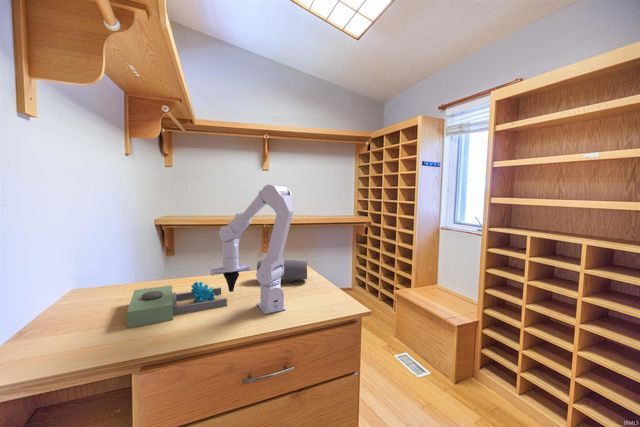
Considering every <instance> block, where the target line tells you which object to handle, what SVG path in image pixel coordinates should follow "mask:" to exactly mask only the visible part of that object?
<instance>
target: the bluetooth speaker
mask: <svg viewBox="0 0 640 427" xmlns="http://www.w3.org/2000/svg"><path fill="white" fill-rule="evenodd" d="M283 260H284V274H283V276H282V277H281V283H294V282H295V281H301V280H302V281H303V280H308V261H306V260H296V259H295V260H293V259H292V260H289V259H283ZM262 261H263V260H259V261H257V263H256V271H257V270H258V269H259V268H260V266H261V263H262Z"/></svg>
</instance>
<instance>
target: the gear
mask: <svg viewBox="0 0 640 427" xmlns="http://www.w3.org/2000/svg"><path fill="white" fill-rule="evenodd" d="M190 287H191V288H192V289H191V290H190V292H193V293H195V294H194V297H195V299H192V300H193V303H197V302H198V303H199V302H205V301H211V300H216V298H215V296H216V295H215V294H214V293H211V292H212V291H213V290H212V289H213V288H214V287H213V286H210V287H209V284H208V283H205V284H204V282H202V281H200V282H198V281H195V282H194V283H193V284H192V285H191V286H190ZM208 287H209V288H208ZM196 297H197V298H196Z"/></svg>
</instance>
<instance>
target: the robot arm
mask: <svg viewBox="0 0 640 427" xmlns="http://www.w3.org/2000/svg"><path fill="white" fill-rule="evenodd" d="M292 195H293V193H292V192H291V190H290V189H289V188H288V187H287V186H286V185H284V184H283V185H282V184H281V185H276V184H266V185H264V186H263V188H262V189H260V190H259V191H258V194H257V196H256V197H255V198H254V199H253V201H251V203H250V204H249V205H248V207H247V208H246V209H245V210H244V211H240V212H236V213H235V216H234V217H233V218H232V220H231V221H229V222H228V224H227V225H223V226H221V228H220V229H219V231H218V232H219V233H218V236H219V238H220V240H221V241H222V267H217V268H211V269H209V270H210V276H211V277H212V276H215V275H216V276H217V275H223V277H224V279H225V281H226V283H227V288H228V292H229V293H231V292H233V293H234V289H235V286H236V283H237V280H238V278H239V276H240V273H241V272H246V271H247V272H250V271H251V265H249V264H245V265H243V264H242V265H240V264H239V243H240V240H241V237H242V235H243V231H245V230H246V229H247V228H248V227H249V225H251V224H252V222H253V220H252V218H253V217H254V216H255V215H257V213H259V212H260V211H261V210H262V209H263V208H264V207H265V206H267V205H268V206H269V207H271V209H273V211H274V213H275V214H276V215H275V219H274V223H273V228H272V231H271V237H270V240H269V245H268V248H267V252H266V256H265V257H264V258H263V260H261V261H262V263H261V266H260V268H259V269H258V270H257V269H256V273H255V275H256V279H257V280H256V281H257V282H258V283H259V285H260V287H259V288H260V294H259V295H260V301H258V302H256V305H257V306H258V307H259V309H260V310H261V311H262V312H263V314H264V315H266V314H270V313H276V312H280V311H285V310H287V307H286V306H285V305H284V302H285V300H284V299H285V298H284V296H285V294H284V291H283V289H282V285H281V283H282V282H281V277H282V276H283V274H284V260H285V259H283V254H284V250H285V246H286V242H287V239H288V234H289V230H290V227H291V223H292V222H291V221H292V219H293V214H294V207H293V202H292Z"/></svg>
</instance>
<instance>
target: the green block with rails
mask: <svg viewBox="0 0 640 427" xmlns="http://www.w3.org/2000/svg"><path fill="white" fill-rule="evenodd" d="M212 290H213V291H212V292H211V293H214V294H215V296H220V295H222V287H213V289H212ZM194 294H195V293H193V292H191V291H188V292H187V291H186V292H180V293H176V292H173V284H170V285H163V286H156V287H149V288H147V287H146V288H142V289H134V291H133V294H132V296H131V299H130V302H129V305H128V308H127V311H126V320H127V329H131V328H136V327H143V326H146V325H153V324H157V323H158V324H159V323H164V322H169V321H173V320H174V316H178V315H184V314H189V313H195V312H200V311H205V310H210V309H212V310H213V309H217V308H222V307H227V306H228V298H226V297H225V298H224V297H223V298H219V299H215V300H211V301H209V300H208V301H205V300H204V301H205V302H204V301H202V302H199V301H198V302H193V303H189V304H188V303H187V304H182V305H177V304H178V302H181V301H188V300H194V299H196V298H197V297H196V298H195V297H194Z"/></svg>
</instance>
